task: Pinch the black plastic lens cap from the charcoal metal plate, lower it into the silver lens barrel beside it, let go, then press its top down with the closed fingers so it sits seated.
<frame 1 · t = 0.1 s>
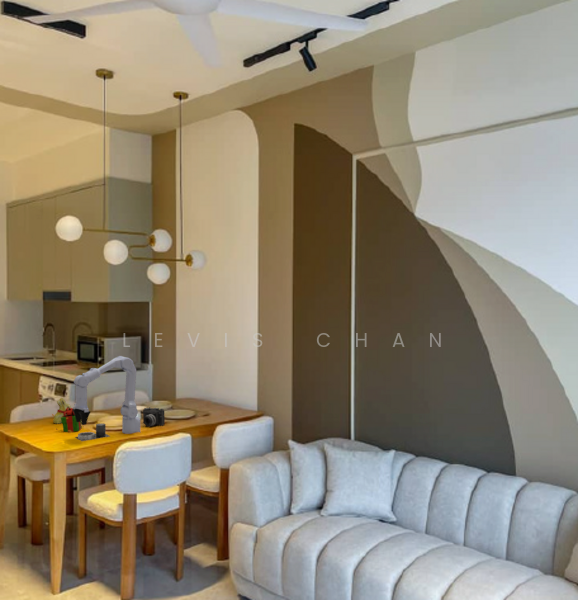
hand: (81, 423, 315), 10 cm above the table, tool pointing down, fingers open, 7 cm apart
lens cap: (100, 435, 325), point 1 cm above the table, touching lens mount
chocolate bunny: (61, 422, 357), on the table
lens mount: (92, 438, 322), on the table
gift wrap: (70, 433, 334), on the table
camera: (151, 425, 353), on the table
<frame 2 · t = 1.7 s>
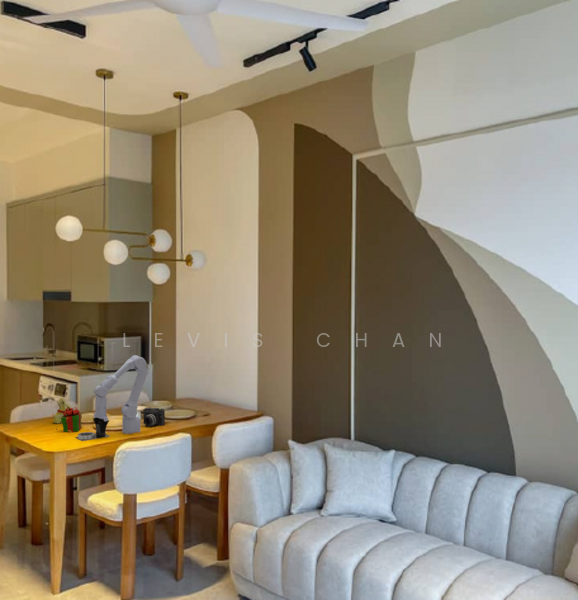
hand: (100, 431, 325), 3 cm above the table, tool pointing down, fingers closed on lens cap, 5 cm apart
lens cap: (100, 435, 325), point 1 cm above the table, touching gripper, lens mount
everything else where it was.
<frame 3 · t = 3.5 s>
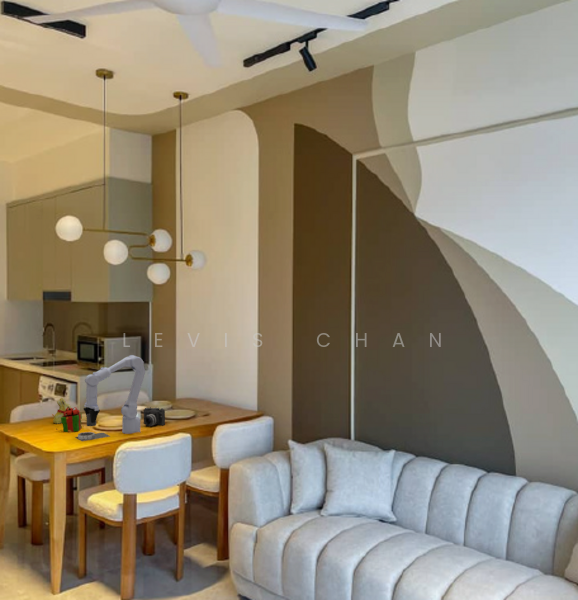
hand: (91, 421, 321), 9 cm above the table, tool pointing down, fingers closed on lens cap, 5 cm apart
lens cap: (91, 425, 321), point 7 cm above the table, touching gripper
everything else where it was.
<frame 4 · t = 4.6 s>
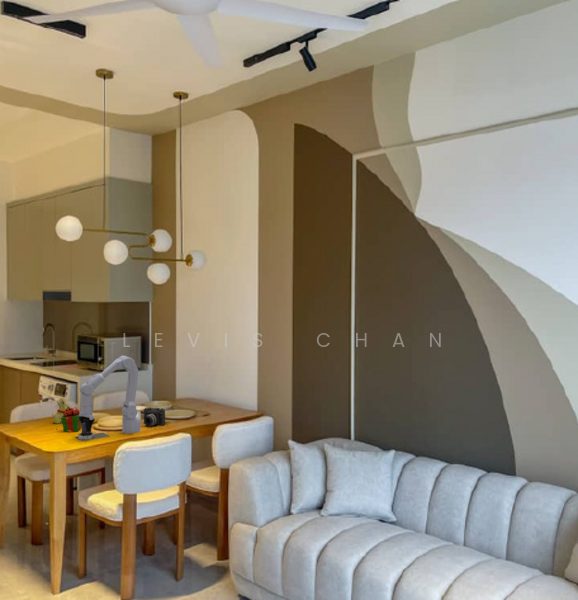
hand: (86, 430, 320), 5 cm above the table, tool pointing down, fingers closed on lens cap, 5 cm apart
lens cap: (86, 434, 320), point 3 cm above the table, touching gripper
everything else where it was.
when the fingers open (4 cm above the table, at t = 5.4 s): lens cap stays where it is, resting on lens mount.
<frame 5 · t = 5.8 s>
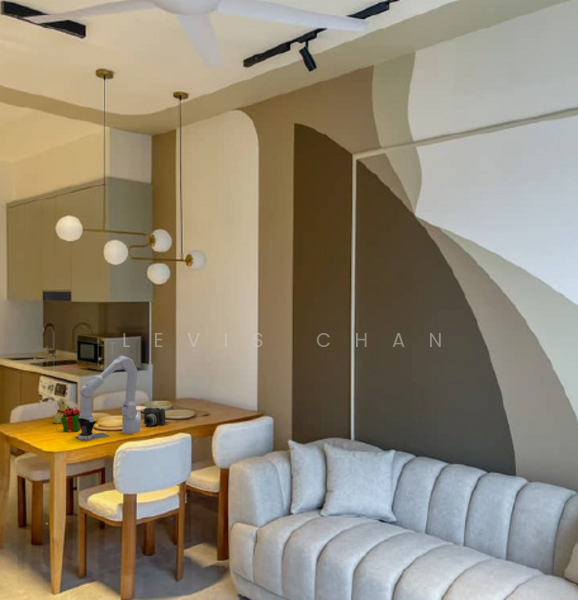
hand: (86, 432, 320), 4 cm above the table, tool pointing down, fingers open, 7 cm apart
lens cap: (86, 437, 320), point 1 cm above the table, touching lens mount
everything else where it was.
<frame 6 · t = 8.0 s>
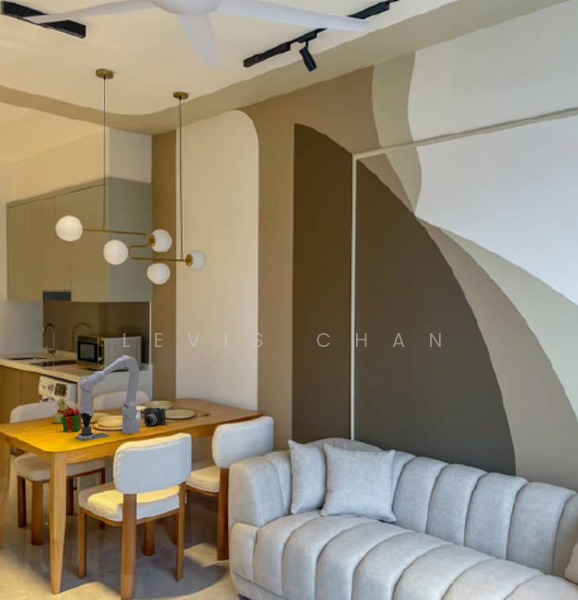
hand: (86, 426, 320), 7 cm above the table, tool pointing down, fingers closed, pressing on lens cap
lens cap: (86, 437, 320), point 1 cm above the table, touching gripper, lens mount
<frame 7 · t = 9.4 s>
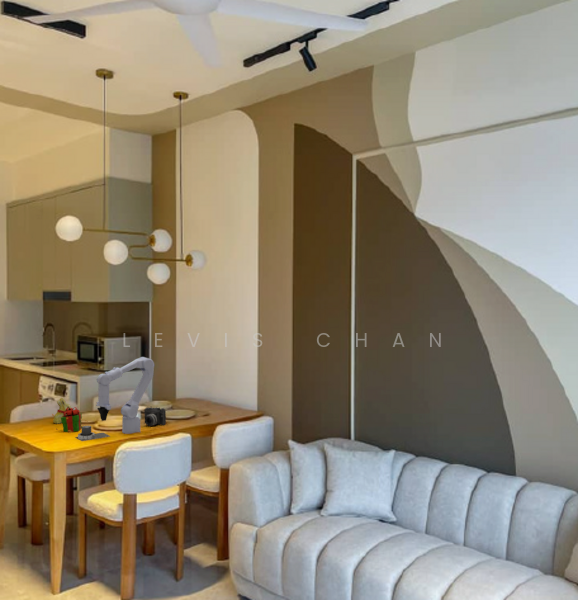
hand: (103, 420, 324), 9 cm above the table, tool pointing down, fingers closed
lens cap: (86, 437, 320), point 1 cm above the table, touching lens mount
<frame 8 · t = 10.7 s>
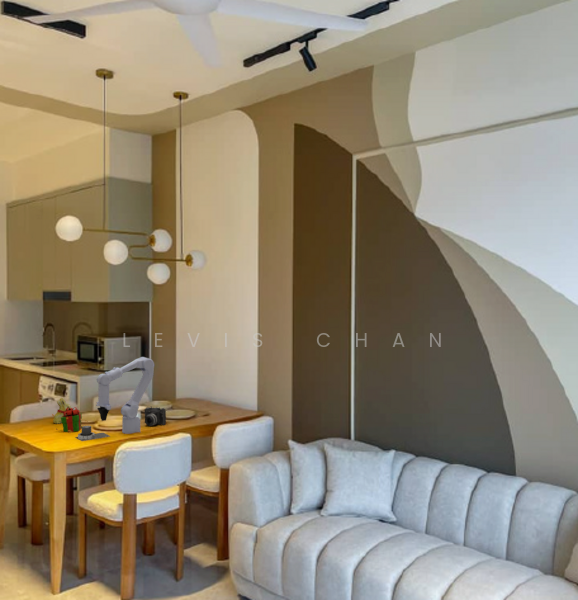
hand: (103, 420, 324), 9 cm above the table, tool pointing down, fingers closed
at the end: lens cap 0.0 cm from the target spot on the lens mount, point 1.0 cm above the lens mount's base; lens cap tilted 0°; the gripper is holding nothing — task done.
